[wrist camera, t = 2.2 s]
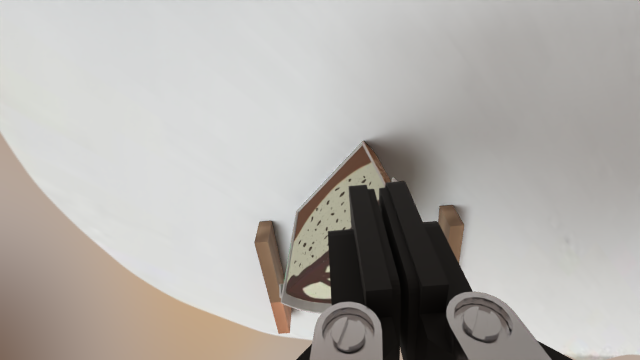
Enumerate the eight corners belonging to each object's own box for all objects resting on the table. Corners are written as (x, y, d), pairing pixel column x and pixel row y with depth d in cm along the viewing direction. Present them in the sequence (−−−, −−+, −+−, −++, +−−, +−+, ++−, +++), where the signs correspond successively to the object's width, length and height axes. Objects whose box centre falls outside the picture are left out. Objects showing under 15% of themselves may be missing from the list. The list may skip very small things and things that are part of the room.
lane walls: (452, 205, 32) (464, 225, 30) (442, 298, 39) (450, 321, 36) (259, 221, 33) (254, 242, 31) (281, 310, 40) (278, 333, 37)
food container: (335, 250, 35) (341, 339, 27) (287, 220, 33) (276, 306, 25) (426, 168, 30) (468, 245, 22) (375, 127, 28) (400, 194, 20)
